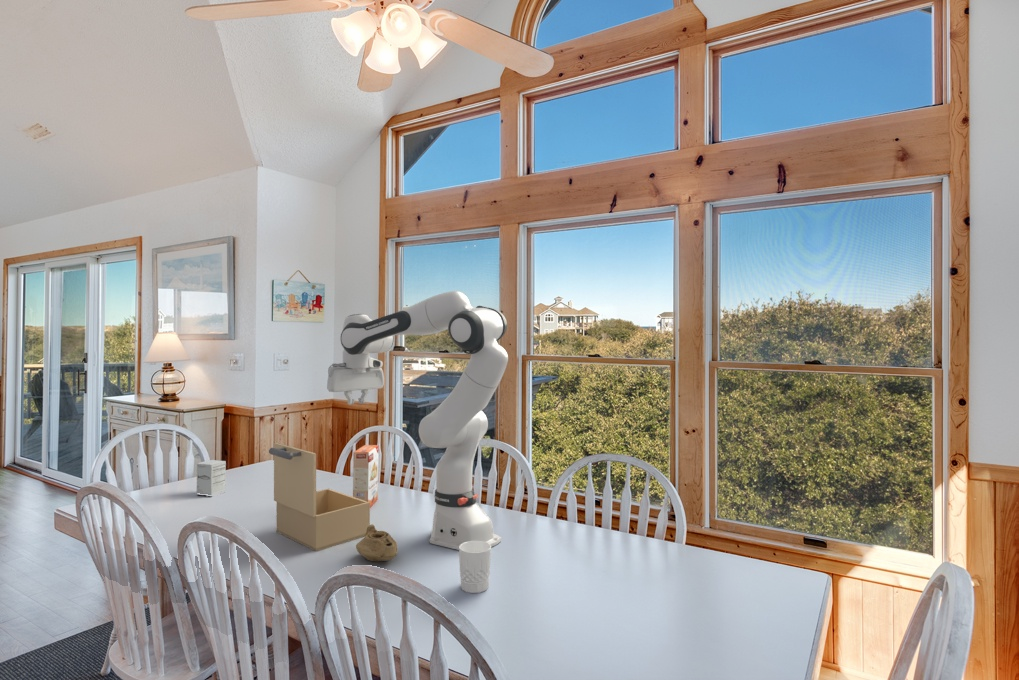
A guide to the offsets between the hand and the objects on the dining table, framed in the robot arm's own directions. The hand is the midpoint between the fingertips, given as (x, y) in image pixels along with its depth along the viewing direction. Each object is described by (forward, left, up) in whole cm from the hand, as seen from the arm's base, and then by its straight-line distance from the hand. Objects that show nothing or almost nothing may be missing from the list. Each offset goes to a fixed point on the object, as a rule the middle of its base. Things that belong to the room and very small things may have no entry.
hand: (356, 403), depth 186 cm
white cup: (-65, +9, -39) cm, 77 cm away
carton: (-3, +14, -39) cm, 42 cm away
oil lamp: (-33, +14, -39) cm, 53 cm away
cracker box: (+12, -12, -39) cm, 42 cm away
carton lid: (-3, +23, -20) cm, 31 cm away
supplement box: (+69, +20, -39) cm, 81 cm away
